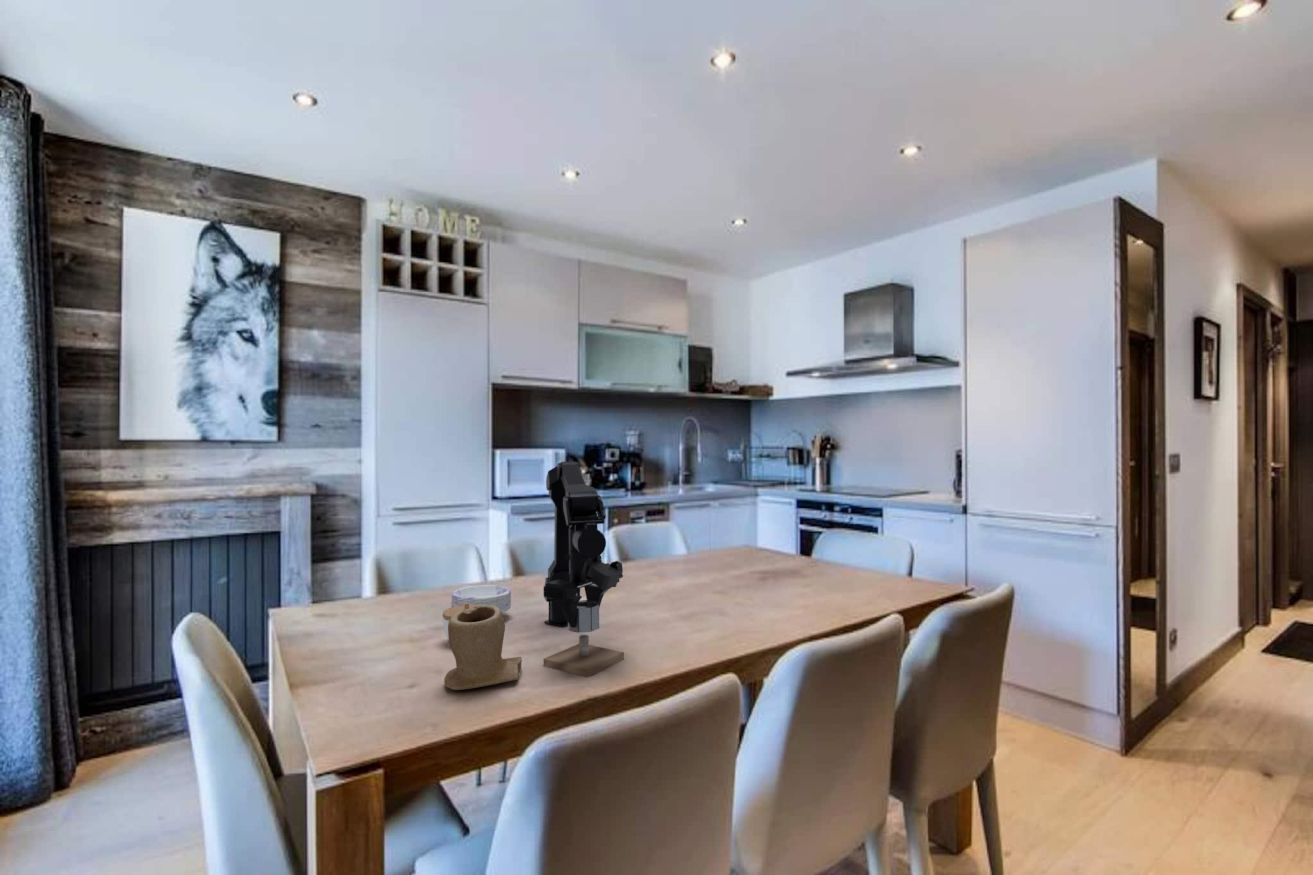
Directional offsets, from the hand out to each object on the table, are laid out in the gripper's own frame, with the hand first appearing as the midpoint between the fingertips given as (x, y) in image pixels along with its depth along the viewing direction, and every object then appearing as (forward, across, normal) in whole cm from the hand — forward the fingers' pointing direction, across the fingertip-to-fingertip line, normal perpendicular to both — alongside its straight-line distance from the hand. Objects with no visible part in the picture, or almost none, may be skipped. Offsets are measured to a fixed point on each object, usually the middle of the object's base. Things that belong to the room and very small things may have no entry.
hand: (583, 623), depth 133 cm
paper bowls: (+9, +11, +44) cm, 46 cm away
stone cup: (+8, -19, +9) cm, 23 cm away
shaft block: (+8, 0, 0) cm, 8 cm away
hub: (+1, 0, 0) cm, 1 cm away
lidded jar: (+9, -4, +32) cm, 33 cm away
